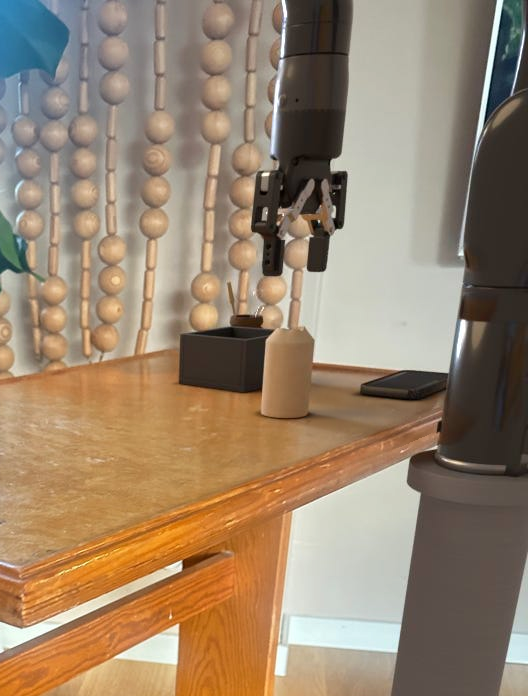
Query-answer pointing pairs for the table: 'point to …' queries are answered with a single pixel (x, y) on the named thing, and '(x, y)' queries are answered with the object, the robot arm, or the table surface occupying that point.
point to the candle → (287, 373)
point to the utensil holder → (244, 319)
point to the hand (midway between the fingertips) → (294, 274)
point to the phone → (406, 384)
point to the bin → (224, 358)
